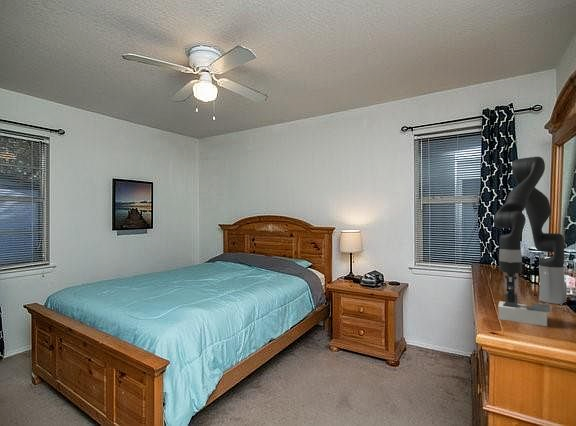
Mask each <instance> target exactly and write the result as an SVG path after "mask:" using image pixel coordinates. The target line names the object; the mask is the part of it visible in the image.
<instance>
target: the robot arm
mask: <svg viewBox="0 0 576 426" xmlns="http://www.w3.org/2000/svg"><path fill="white" fill-rule="evenodd" d="M545 170H546V164H545V161H544V158H543V157H541V156H531V157H530V156H529V157H522V158H517V159H514V160H513V162H512V163H511V171H512V175H513V177H514V180H515V182H516V184H517V185H516V186H514V187H513V188H512V189H511V190H510V192H509V193H508V195H507V198H506V200H505V203H504V204H503V205H502V206H500V208H499V209H498V210H497V211H496V213H495V214H494V216H493V224H494V226H495V227H496V228H498V229H505V230H506V229H507V230H510V229H511V230H512V231H511V232H510V233H507V234H502V235H500V236H499V239H498V240H499V241H498V242H499V253H498V261H499V263H498V264H499V265H498V266H499V267H498V268H499V271H500V272H502V273H506V275H505V276H504V281H505V288H506V291H505V292H507V293H508V302H511V303H514V302H515V296H514V293H516V290H515V289H517V282H518V277H517V276H516V274H521V273H523V258H522V256H523V255H522V249H521V243H522V242H521V240H522V234H523V231H524V228H525V224H526V216H525V214H524V213H523V211H524V210H525V212H526V215H527V218H528V222H529V225H530V229H531V232H532V233H531V234H532V239H533V243H534V247H535V249H536V250H537V251H538V252H542V253H553V254H552V255H551V256H550V257H547V258H543V259H540V260H539V261H538V266H539V267H538V270H539V300H540V301H542V302H544V303H547V304H548V303H549V304H554V305H555V304H556V305H563V303H565V301H566V300H567V301H568V299H567V298H568V296H567V294H568V293H567V283H566V282H565V237H564V235H563V234H561V233H556V232H555V233H550V232H548V233H547V232H543V227H544V226H545V224H546V222H547V221H548V220H549V218H550V216H551V214H552V207H551V204H550V200H549V198H548V197H547V196H546V194H544V193H543V192H541V190H539V189H538V188H536V186H537V185H538V183H539V182H540V180H541V178H542V177H543V175H544V173H545ZM509 288H513V289H509ZM565 304H566V303H565Z"/></svg>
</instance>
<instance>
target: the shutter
mask: <svg viewBox="0 0 576 426" xmlns="http://www.w3.org/2000/svg"><path fill="white" fill-rule="evenodd" d="M525 299H526V300H525V302H526V306H527V309H531V310H538V311H546V312H547V313H550V312H551V308H550V305H549V304H540V303H533V302H532V296H531V295H530V294H528V295H527V294H526V296H525Z"/></svg>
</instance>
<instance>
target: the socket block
mask: <svg viewBox="0 0 576 426" xmlns="http://www.w3.org/2000/svg"><path fill="white" fill-rule="evenodd" d="M498 320H504V321H508V322H515V323H523V324H528V325H529V324H530V325H536V326H541V327H542V326H543V327H548V312H546V311H538V310H531V309H527V306H526V304H525V303H518V308H516V307H508V306H505V301H501V300H499V302H498Z"/></svg>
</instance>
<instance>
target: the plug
mask: <svg viewBox="0 0 576 426" xmlns="http://www.w3.org/2000/svg"><path fill="white" fill-rule="evenodd" d="M509 289H513V288H509ZM514 296H515V302H514V303H511V302H508V293H507V291H504V300H505V301H504V302H505V306H508V307H516V308H518V304H519V301H518V292H515V293H514Z"/></svg>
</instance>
